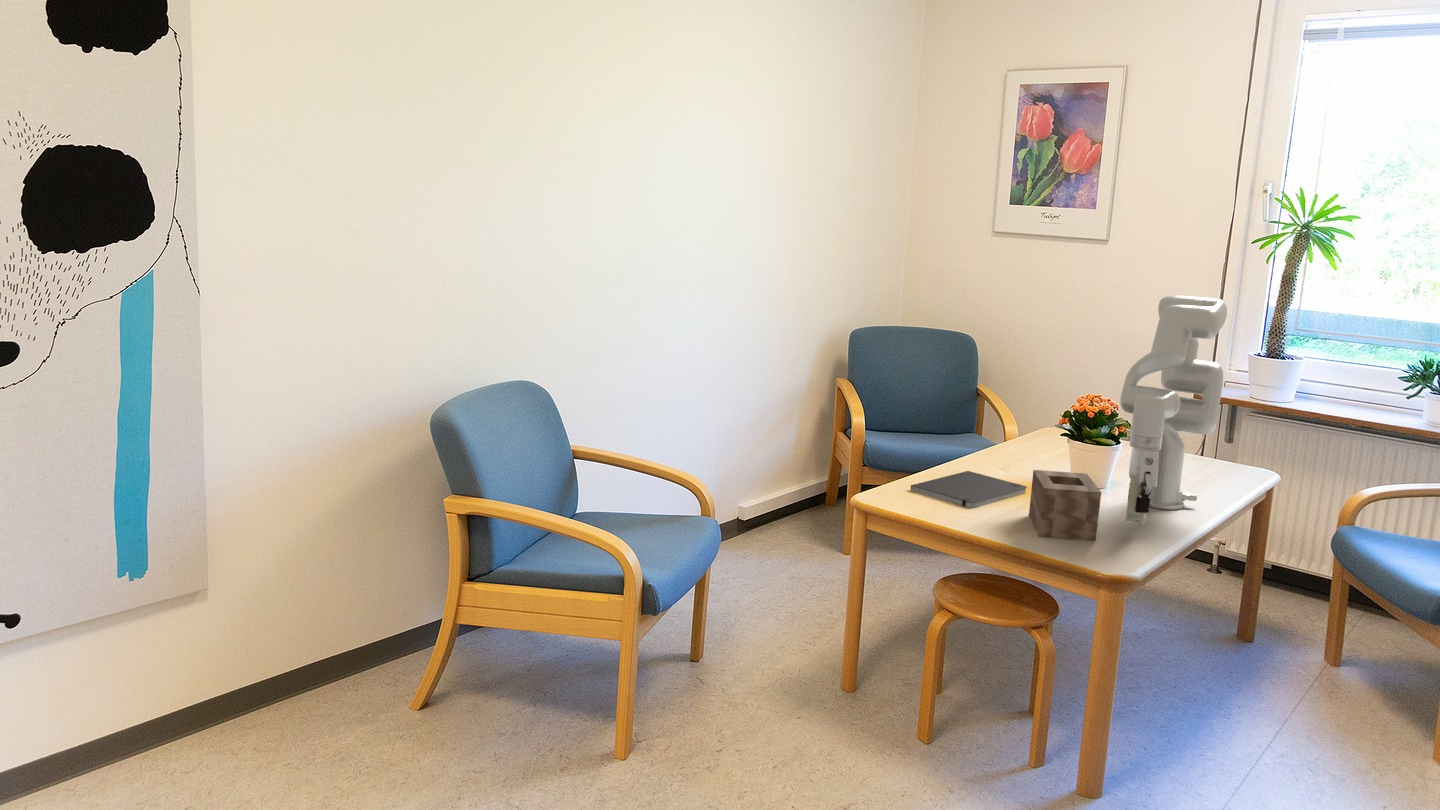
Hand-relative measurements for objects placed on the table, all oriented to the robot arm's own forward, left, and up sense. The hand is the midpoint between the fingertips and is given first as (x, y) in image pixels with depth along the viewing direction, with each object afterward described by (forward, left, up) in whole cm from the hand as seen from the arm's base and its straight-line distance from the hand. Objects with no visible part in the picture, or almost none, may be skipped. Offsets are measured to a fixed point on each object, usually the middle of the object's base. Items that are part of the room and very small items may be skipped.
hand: (1137, 506), depth 266 cm
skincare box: (0, 0, -4) cm, 4 cm away
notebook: (+39, -31, -9) cm, 50 cm away
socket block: (+18, -1, -8) cm, 20 cm away
